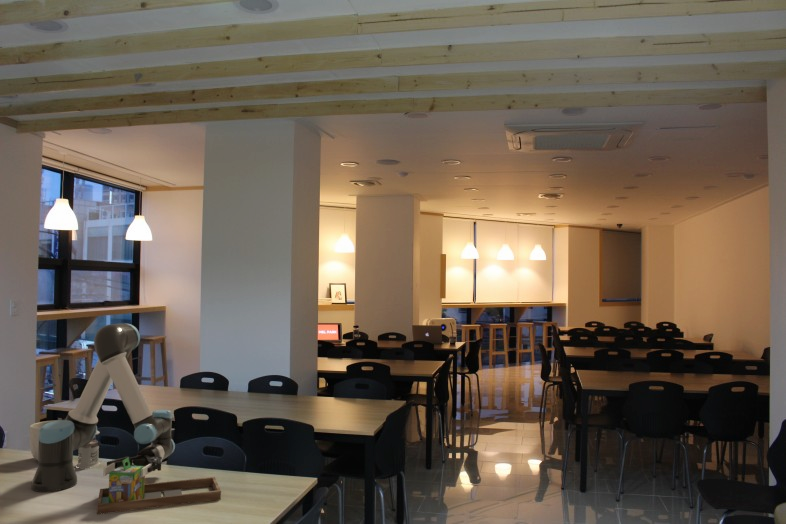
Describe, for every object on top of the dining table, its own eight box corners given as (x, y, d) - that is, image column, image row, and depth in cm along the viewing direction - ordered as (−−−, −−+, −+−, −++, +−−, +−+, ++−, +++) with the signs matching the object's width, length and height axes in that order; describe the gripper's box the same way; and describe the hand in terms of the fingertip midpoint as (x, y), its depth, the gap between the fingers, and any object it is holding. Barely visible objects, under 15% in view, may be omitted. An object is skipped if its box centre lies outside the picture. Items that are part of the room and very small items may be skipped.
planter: (52, 452, 276) (54, 418, 276) (81, 456, 270) (82, 421, 271) (18, 462, 260) (20, 426, 261) (48, 466, 254) (49, 429, 255)
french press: (71, 469, 250) (74, 408, 251) (80, 461, 261) (82, 403, 263) (97, 468, 252) (99, 408, 253) (104, 460, 263) (106, 403, 264)
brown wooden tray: (99, 497, 216) (100, 488, 217) (214, 484, 232) (214, 476, 232) (96, 514, 200) (97, 505, 200) (220, 499, 216) (220, 490, 216)
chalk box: (133, 507, 206) (135, 463, 206) (107, 506, 206) (108, 462, 207) (145, 497, 215) (146, 455, 216) (120, 497, 215) (121, 455, 216)
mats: (143, 494, 220) (143, 492, 220) (180, 490, 225) (180, 488, 225) (143, 506, 207) (143, 505, 207) (183, 502, 213) (183, 500, 213)
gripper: (181, 466, 232) (157, 484, 211) (118, 465, 233) (88, 482, 212) (182, 447, 232) (158, 462, 211) (119, 445, 234) (89, 460, 212)
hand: (123, 472), depth 212 cm, fingers open, 13 cm apart
